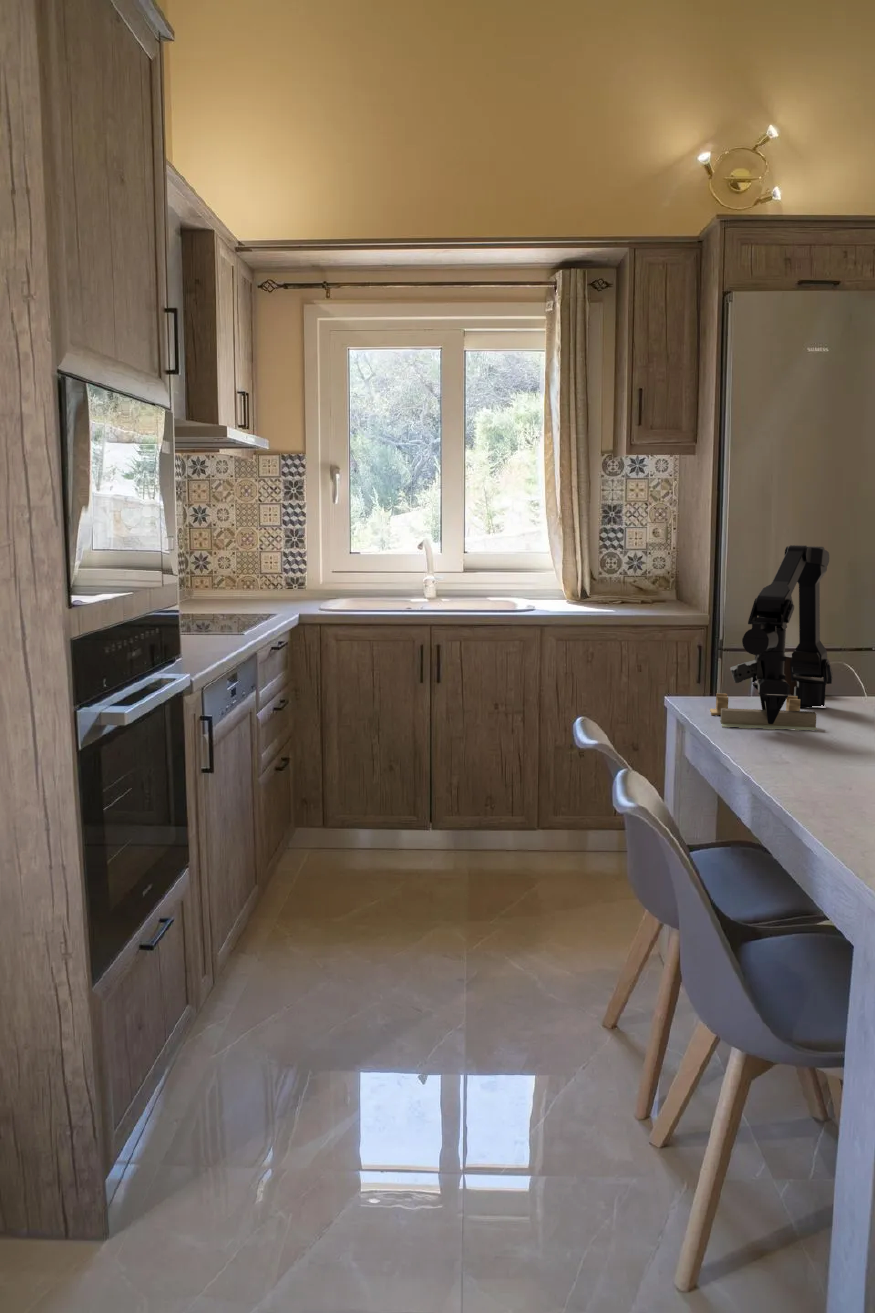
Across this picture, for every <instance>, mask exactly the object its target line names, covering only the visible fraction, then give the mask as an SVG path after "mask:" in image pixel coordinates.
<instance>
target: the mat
mask: <svg viewBox="0 0 875 1313" xmlns="http://www.w3.org/2000/svg"><path fill="white" fill-rule="evenodd" d="M719 721H720V720H719ZM720 723H721V721H720ZM721 727H722V728H727V727H739V728H738V729H751V728H763V729H762V730H775V729H795V730H794V731H799V730H818V731H819V729H818V728H817V726H816V727H793V726H768V725H743V724H722V725H721Z"/></svg>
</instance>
